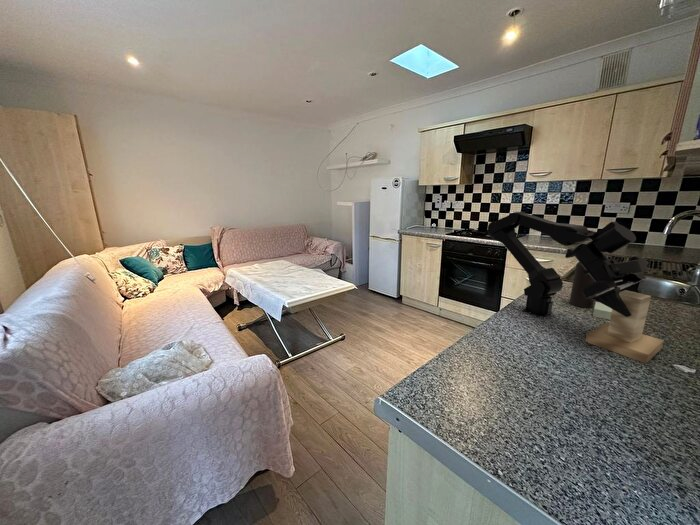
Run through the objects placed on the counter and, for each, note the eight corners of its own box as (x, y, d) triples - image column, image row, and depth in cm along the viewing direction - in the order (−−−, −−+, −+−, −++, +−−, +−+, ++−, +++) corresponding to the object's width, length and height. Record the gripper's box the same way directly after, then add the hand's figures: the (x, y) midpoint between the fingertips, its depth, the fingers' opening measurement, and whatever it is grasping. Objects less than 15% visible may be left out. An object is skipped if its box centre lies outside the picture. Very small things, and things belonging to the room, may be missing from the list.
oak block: (584, 343, 76) (586, 333, 75) (602, 331, 82) (604, 322, 81) (645, 365, 66) (648, 354, 65) (661, 350, 72) (664, 340, 71)
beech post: (606, 334, 75) (615, 293, 72) (616, 330, 77) (625, 290, 74) (631, 343, 70) (641, 299, 67) (640, 338, 72) (651, 295, 69)
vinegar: (574, 307, 98) (584, 252, 93) (565, 300, 104) (575, 248, 99) (597, 309, 96) (609, 253, 91) (587, 301, 102) (598, 249, 97)
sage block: (592, 317, 91) (594, 308, 90) (594, 309, 97) (595, 301, 96) (626, 324, 86) (628, 315, 85) (626, 316, 91) (628, 307, 90)
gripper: (605, 249, 67) (656, 307, 60) (644, 242, 74) (694, 293, 67) (564, 272, 76) (604, 324, 69) (603, 264, 83) (643, 311, 76)
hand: (637, 313), depth 70 cm, fingers open, 8 cm apart
